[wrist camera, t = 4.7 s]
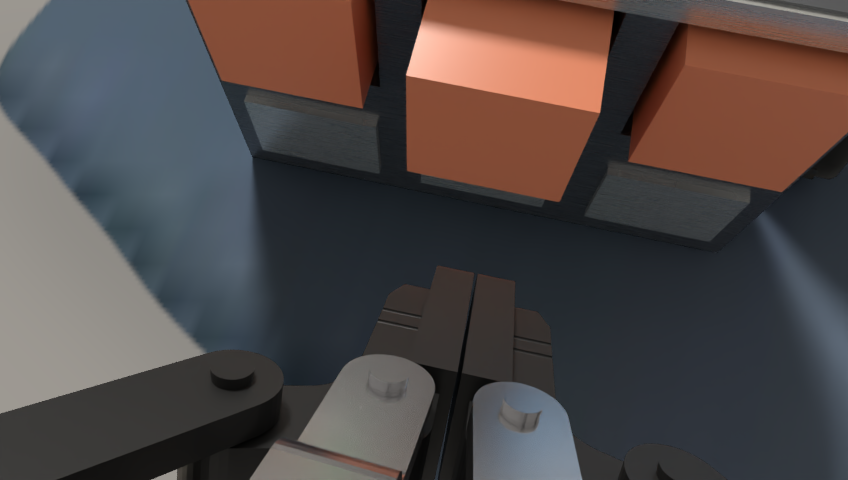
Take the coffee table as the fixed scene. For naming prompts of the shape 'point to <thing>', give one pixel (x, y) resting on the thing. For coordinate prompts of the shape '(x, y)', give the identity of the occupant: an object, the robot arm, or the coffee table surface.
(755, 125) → the switch
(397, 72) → the dark grey block
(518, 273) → the coffee table surface
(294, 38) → the switch
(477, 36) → the switch
